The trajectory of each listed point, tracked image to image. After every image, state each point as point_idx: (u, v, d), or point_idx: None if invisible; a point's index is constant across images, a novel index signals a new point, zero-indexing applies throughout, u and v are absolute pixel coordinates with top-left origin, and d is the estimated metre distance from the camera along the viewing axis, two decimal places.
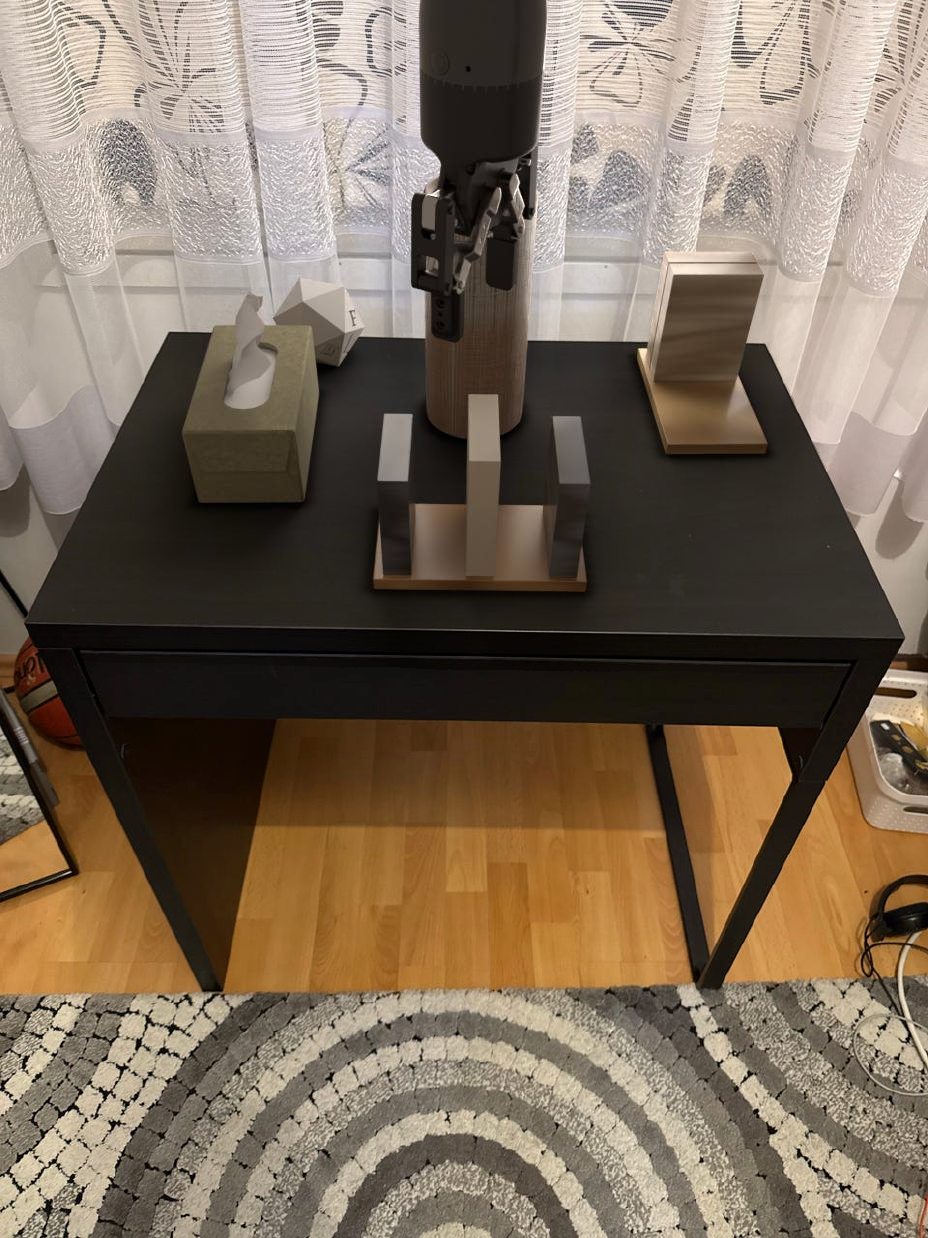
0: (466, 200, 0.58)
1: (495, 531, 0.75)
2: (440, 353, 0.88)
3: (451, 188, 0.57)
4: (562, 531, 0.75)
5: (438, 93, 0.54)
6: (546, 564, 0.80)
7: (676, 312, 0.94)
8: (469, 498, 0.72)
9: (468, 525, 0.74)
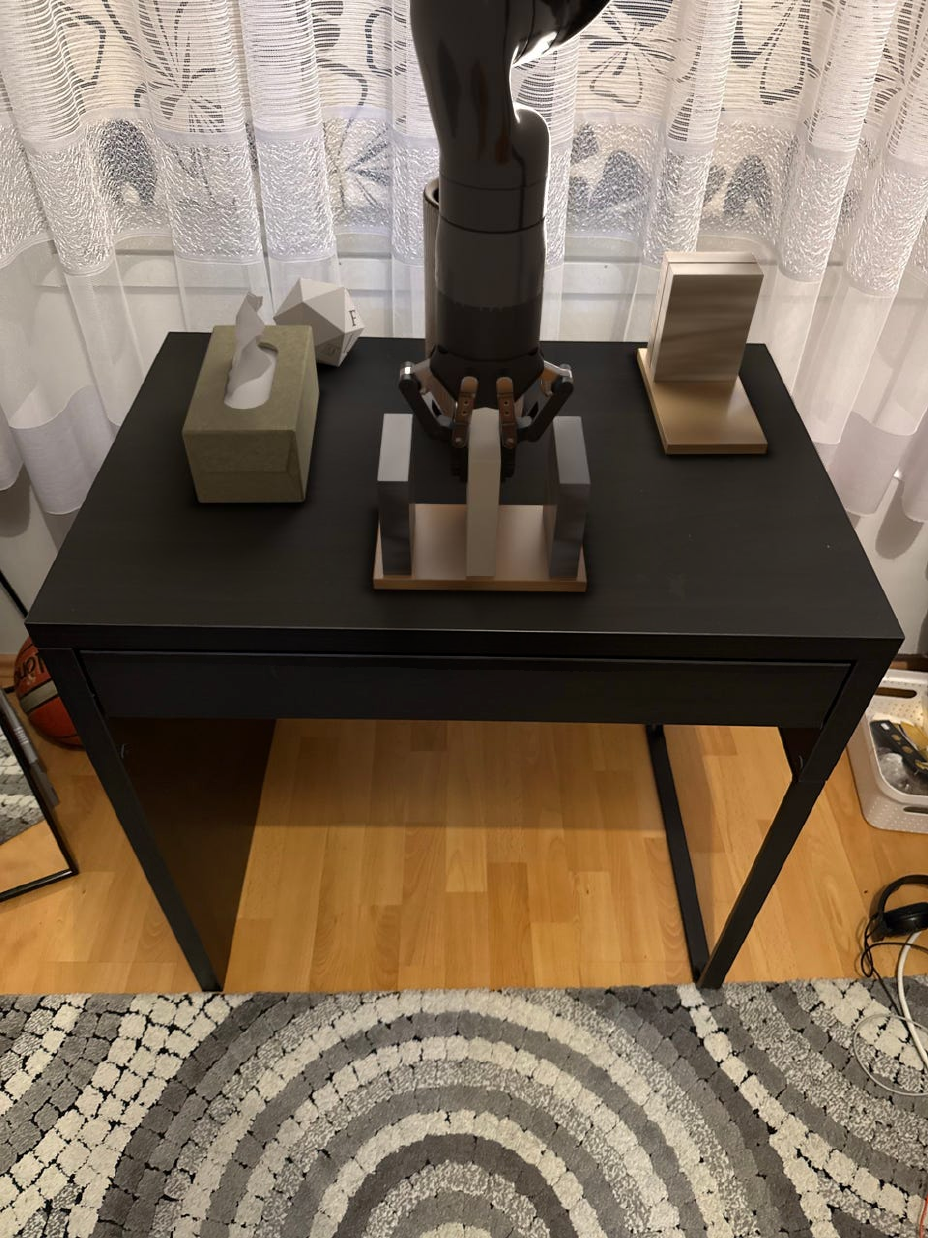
0: (435, 369, 0.68)
1: (495, 531, 0.75)
2: None
3: (431, 355, 0.68)
4: (562, 531, 0.75)
5: None
6: (546, 564, 0.80)
7: (676, 312, 0.94)
8: (469, 498, 0.72)
9: (468, 525, 0.74)
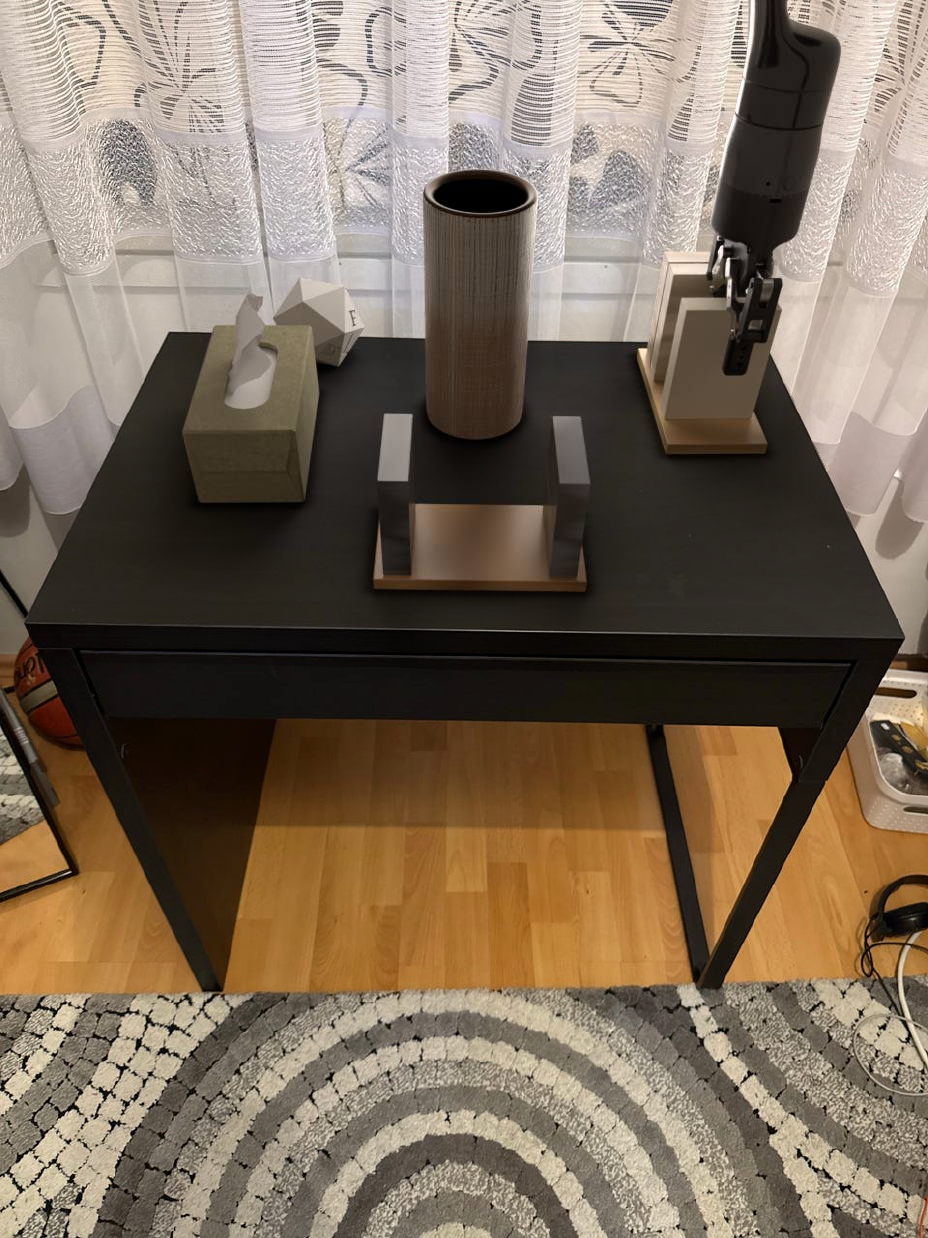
0: None
1: (672, 375, 0.91)
2: (440, 353, 0.88)
3: None
4: (562, 531, 0.75)
5: None
6: (546, 564, 0.80)
7: (676, 312, 0.94)
8: None
9: None
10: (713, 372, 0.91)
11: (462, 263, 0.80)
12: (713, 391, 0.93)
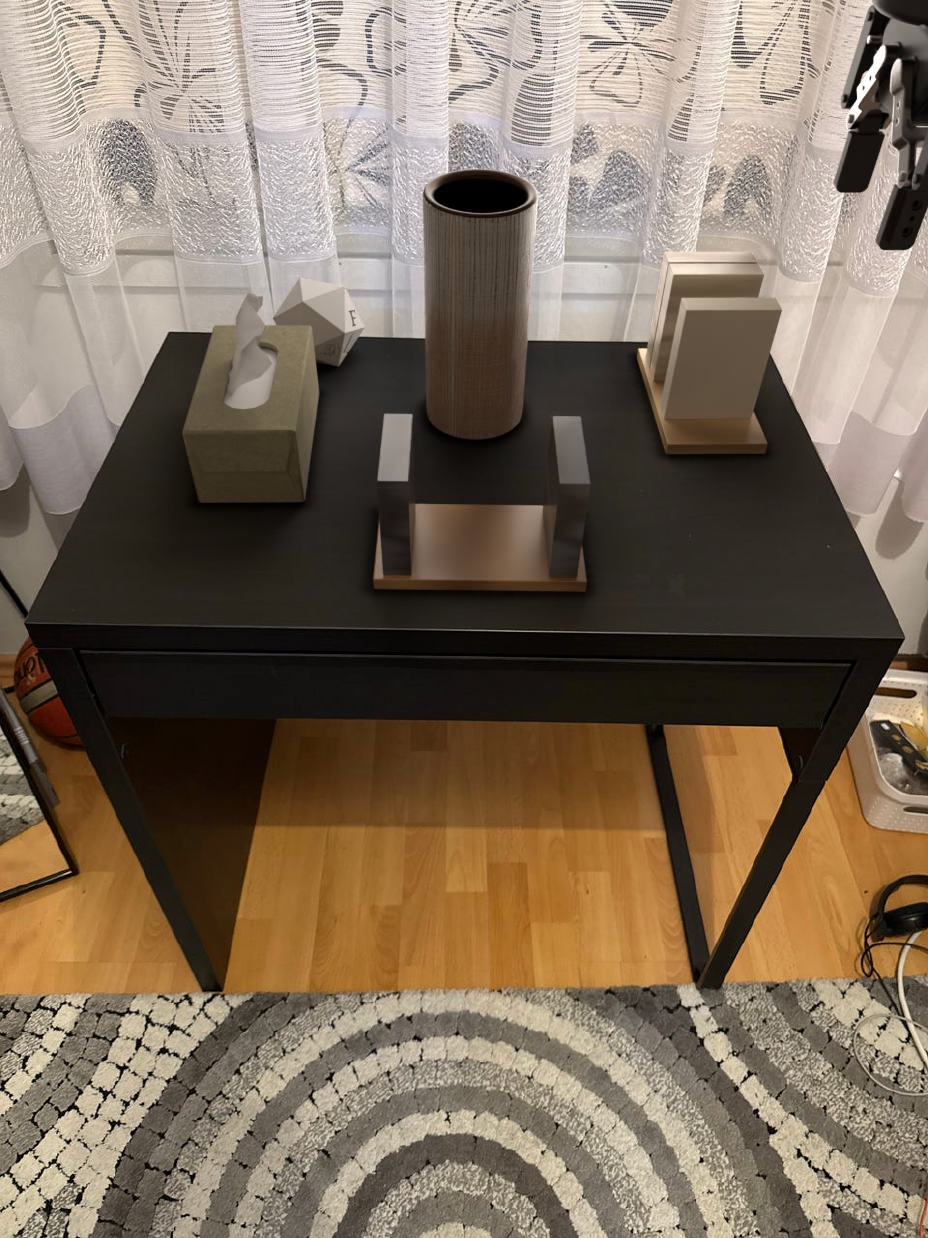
0: (884, 33, 0.56)
1: (672, 375, 0.91)
2: (440, 353, 0.88)
3: None
4: (562, 531, 0.75)
5: None
6: (546, 564, 0.80)
7: (676, 312, 0.94)
8: None
9: None
10: (713, 372, 0.91)
11: (462, 263, 0.80)
12: (713, 391, 0.93)
